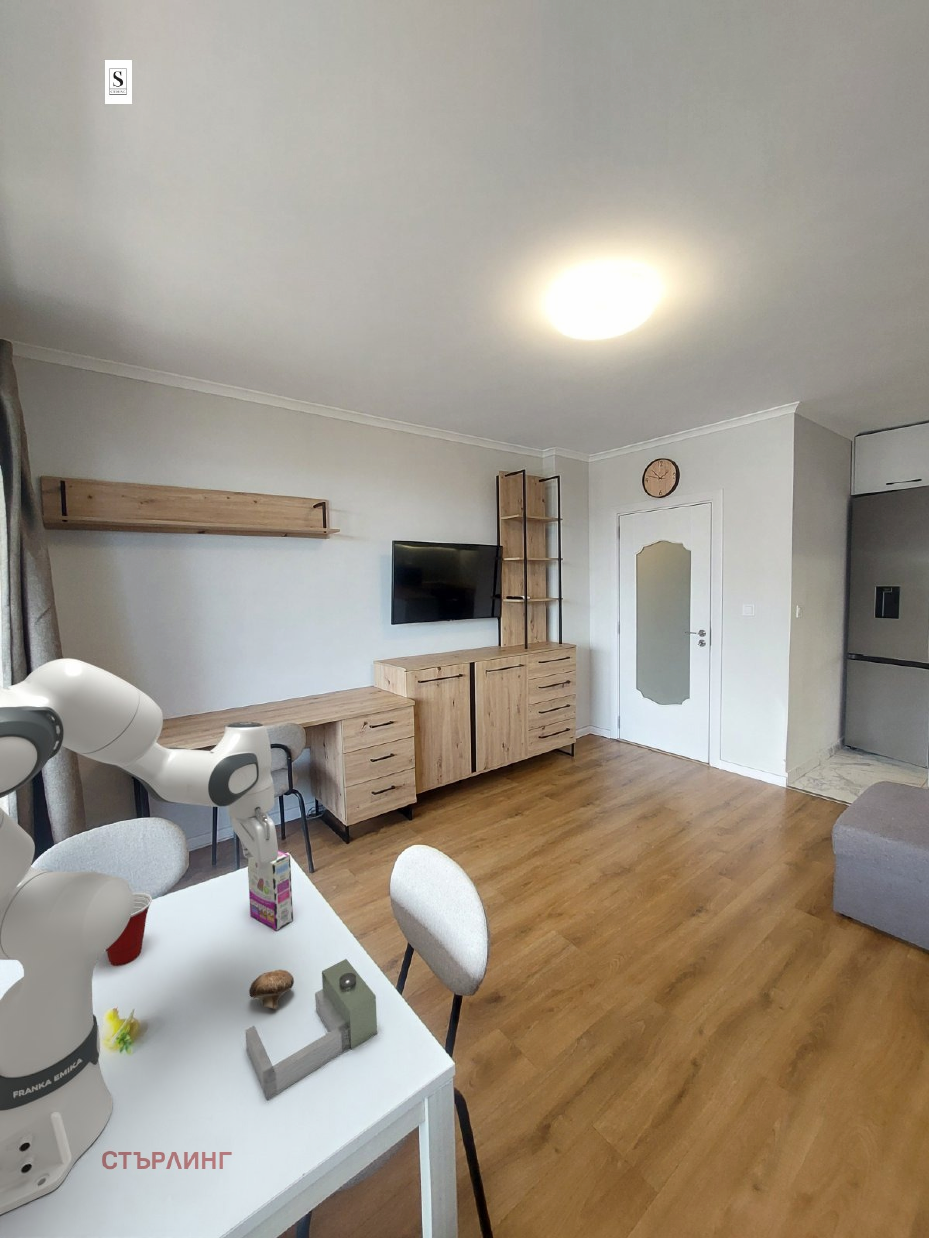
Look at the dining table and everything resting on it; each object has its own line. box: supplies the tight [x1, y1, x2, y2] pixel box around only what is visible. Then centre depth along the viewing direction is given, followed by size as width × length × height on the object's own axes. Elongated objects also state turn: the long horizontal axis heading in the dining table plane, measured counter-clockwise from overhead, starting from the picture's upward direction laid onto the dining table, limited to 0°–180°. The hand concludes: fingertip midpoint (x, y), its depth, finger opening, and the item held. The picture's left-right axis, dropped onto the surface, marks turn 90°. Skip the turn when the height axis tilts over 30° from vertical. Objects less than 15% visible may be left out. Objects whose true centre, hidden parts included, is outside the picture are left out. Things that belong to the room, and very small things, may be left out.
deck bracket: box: [244, 958, 378, 1101], centre depth 88 cm, size 19×12×8 cm, turn 128°
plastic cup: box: [105, 892, 153, 967], centre depth 111 cm, size 11×11×12 cm
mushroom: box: [248, 969, 295, 1010], centre depth 97 cm, size 8×8×6 cm
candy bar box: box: [247, 850, 294, 932], centre depth 123 cm, size 11×5×16 cm, turn 55°
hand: (255, 865), depth 103 cm, fingers open, 8 cm apart
